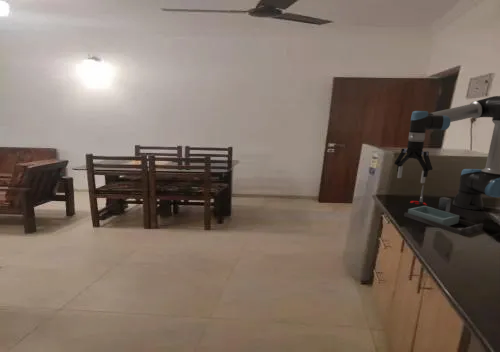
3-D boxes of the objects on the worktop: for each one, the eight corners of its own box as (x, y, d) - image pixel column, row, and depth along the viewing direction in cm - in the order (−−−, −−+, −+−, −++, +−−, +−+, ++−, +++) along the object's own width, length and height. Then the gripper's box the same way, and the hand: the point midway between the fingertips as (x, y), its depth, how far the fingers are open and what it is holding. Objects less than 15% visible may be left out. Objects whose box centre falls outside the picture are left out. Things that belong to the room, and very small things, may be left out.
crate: (423, 212, 170) (424, 205, 170) (458, 223, 155) (459, 215, 154) (407, 216, 164) (408, 209, 163) (442, 227, 148) (443, 219, 147)
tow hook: (408, 202, 196) (413, 205, 187) (410, 182, 194) (416, 184, 185) (422, 203, 195) (428, 206, 186) (425, 182, 193) (431, 185, 184)
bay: (423, 213, 172) (424, 206, 171) (481, 231, 147) (483, 223, 147) (403, 218, 164) (404, 210, 163) (462, 238, 139) (463, 229, 138)
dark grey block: (441, 214, 172) (443, 196, 170) (448, 216, 169) (451, 198, 166) (436, 215, 170) (439, 197, 168) (444, 217, 167) (447, 199, 165)
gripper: (390, 138, 172) (386, 176, 177) (435, 143, 151) (429, 185, 156) (399, 138, 176) (394, 175, 180) (444, 143, 155) (437, 184, 159)
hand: (410, 180), depth 168 cm, fingers open, 13 cm apart
